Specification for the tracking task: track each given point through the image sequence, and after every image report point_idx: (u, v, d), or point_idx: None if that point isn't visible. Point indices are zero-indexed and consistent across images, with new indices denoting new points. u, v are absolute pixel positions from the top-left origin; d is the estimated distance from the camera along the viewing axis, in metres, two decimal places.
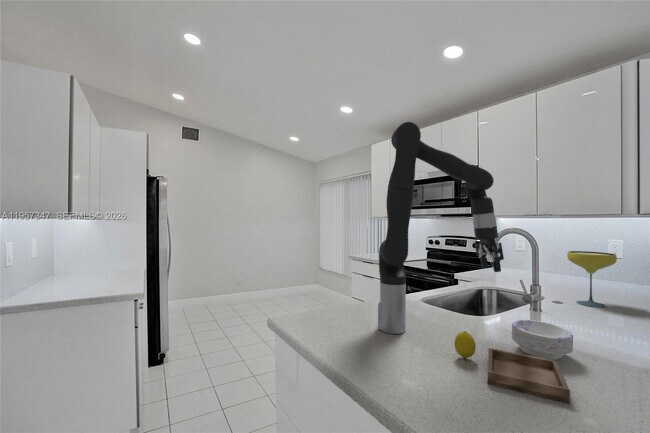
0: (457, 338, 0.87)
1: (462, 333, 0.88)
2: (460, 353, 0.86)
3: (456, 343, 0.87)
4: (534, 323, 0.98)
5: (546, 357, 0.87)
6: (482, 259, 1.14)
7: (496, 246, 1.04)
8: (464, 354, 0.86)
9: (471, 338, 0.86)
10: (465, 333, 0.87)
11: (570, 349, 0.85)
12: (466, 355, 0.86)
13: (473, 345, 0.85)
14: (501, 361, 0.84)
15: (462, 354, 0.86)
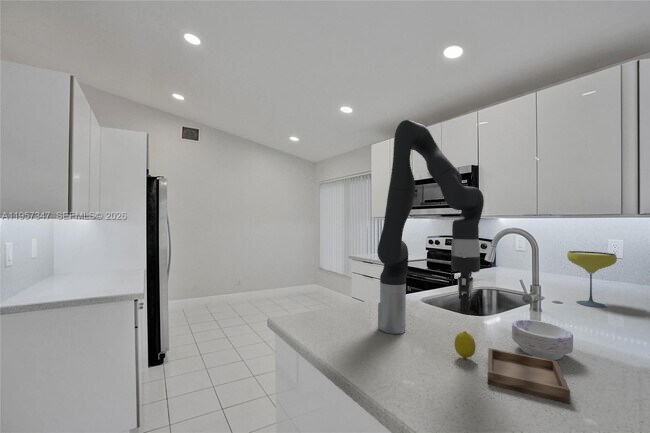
0: (457, 338, 0.87)
1: (462, 333, 0.88)
2: (460, 353, 0.86)
3: (456, 343, 0.87)
4: (534, 323, 0.98)
5: (546, 357, 0.87)
6: (464, 295, 0.92)
7: (461, 282, 0.82)
8: (464, 354, 0.86)
9: (471, 338, 0.86)
10: (465, 333, 0.87)
11: (570, 349, 0.85)
12: (466, 355, 0.86)
13: (473, 345, 0.85)
14: (501, 361, 0.84)
15: (462, 354, 0.86)
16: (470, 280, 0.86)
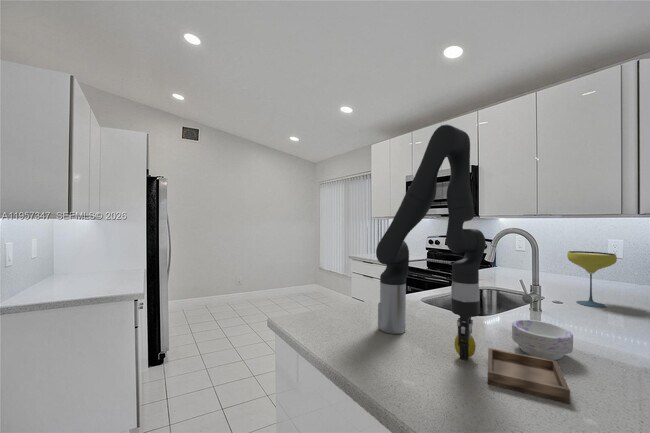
0: (457, 338, 0.87)
1: None
2: None
3: (456, 343, 0.87)
4: (534, 323, 0.98)
5: (546, 357, 0.87)
6: None
7: (460, 330, 0.82)
8: None
9: (471, 338, 0.86)
10: None
11: (570, 349, 0.85)
12: None
13: (473, 345, 0.85)
14: (501, 361, 0.84)
15: None
16: (469, 325, 0.85)
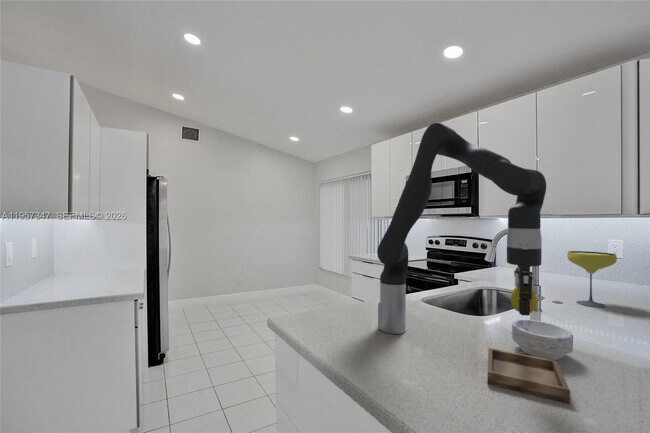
0: (515, 292, 0.77)
1: None
2: None
3: (514, 297, 0.77)
4: (534, 323, 0.98)
5: (546, 357, 0.87)
6: None
7: (523, 280, 0.72)
8: None
9: (532, 291, 0.76)
10: None
11: (570, 349, 0.85)
12: None
13: (535, 299, 0.75)
14: (501, 361, 0.84)
15: None
16: (530, 276, 0.75)
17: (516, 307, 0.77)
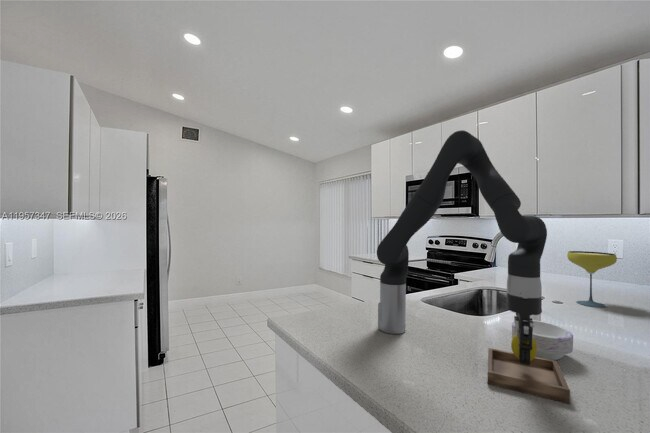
0: (515, 339, 0.77)
1: None
2: None
3: (514, 345, 0.77)
4: (534, 323, 0.98)
5: (546, 357, 0.87)
6: None
7: (523, 331, 0.72)
8: None
9: (532, 339, 0.76)
10: None
11: (570, 349, 0.85)
12: None
13: (535, 347, 0.75)
14: (501, 361, 0.84)
15: None
16: (530, 324, 0.75)
17: (516, 354, 0.77)
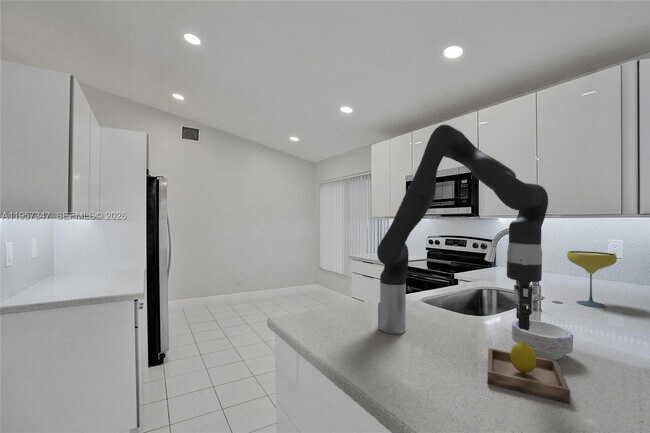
0: (515, 351, 0.77)
1: (520, 345, 0.77)
2: (519, 368, 0.76)
3: (514, 356, 0.77)
4: (534, 323, 0.98)
5: (546, 357, 0.87)
6: (518, 306, 0.81)
7: (522, 293, 0.72)
8: (524, 369, 0.75)
9: (532, 351, 0.76)
10: (524, 345, 0.77)
11: (570, 349, 0.85)
12: (526, 370, 0.75)
13: (534, 359, 0.75)
14: (501, 361, 0.84)
15: (522, 369, 0.76)
16: None
17: (516, 366, 0.77)
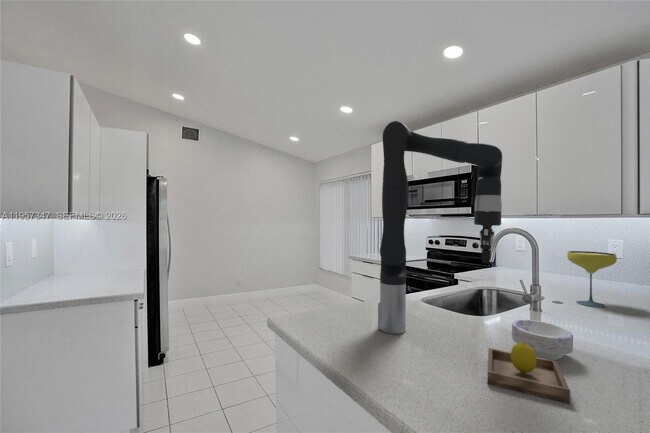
0: (516, 350, 0.77)
1: (521, 344, 0.77)
2: (519, 367, 0.76)
3: (514, 356, 0.77)
4: (534, 323, 0.98)
5: (546, 357, 0.87)
6: None
7: (483, 232, 0.90)
8: (525, 368, 0.75)
9: (532, 350, 0.76)
10: (524, 344, 0.77)
11: (570, 349, 0.85)
12: (527, 370, 0.75)
13: (535, 358, 0.75)
14: (501, 361, 0.84)
15: (522, 368, 0.76)
16: (491, 233, 0.93)
17: (516, 365, 0.77)
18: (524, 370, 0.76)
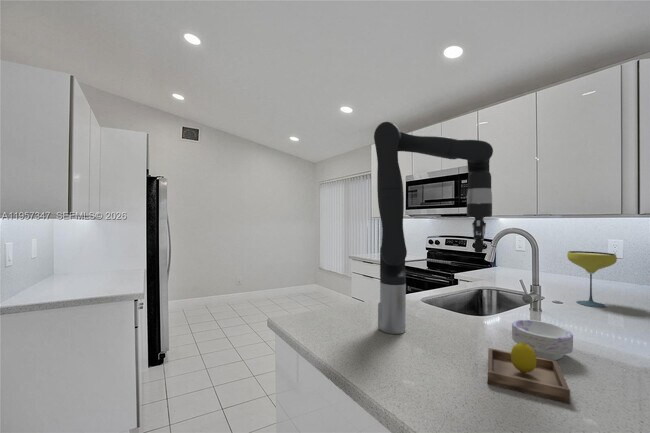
0: (516, 350, 0.77)
1: (521, 344, 0.77)
2: (520, 367, 0.76)
3: (514, 356, 0.77)
4: (534, 323, 0.98)
5: (546, 357, 0.87)
6: None
7: (476, 223, 0.95)
8: (525, 368, 0.75)
9: (532, 350, 0.76)
10: (525, 345, 0.77)
11: (570, 349, 0.85)
12: (527, 370, 0.75)
13: (535, 358, 0.75)
14: (501, 361, 0.84)
15: (522, 369, 0.76)
16: (483, 224, 0.98)
17: (516, 366, 0.77)
18: (524, 370, 0.76)
